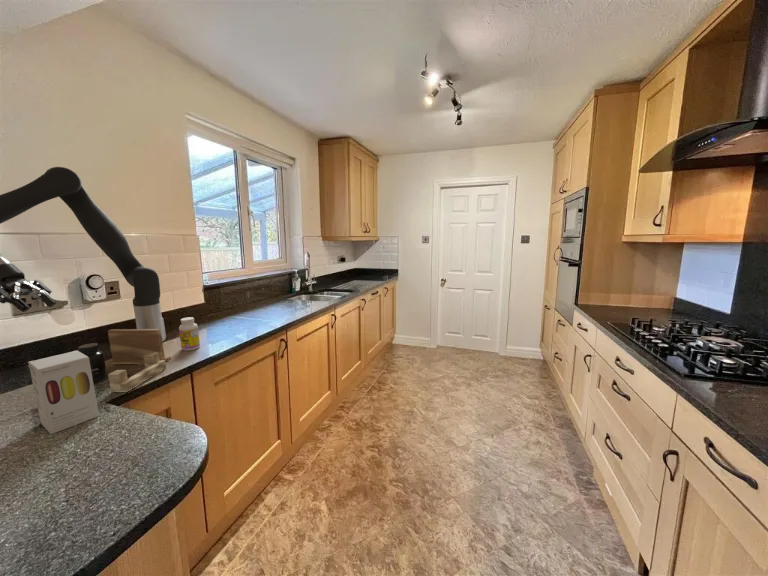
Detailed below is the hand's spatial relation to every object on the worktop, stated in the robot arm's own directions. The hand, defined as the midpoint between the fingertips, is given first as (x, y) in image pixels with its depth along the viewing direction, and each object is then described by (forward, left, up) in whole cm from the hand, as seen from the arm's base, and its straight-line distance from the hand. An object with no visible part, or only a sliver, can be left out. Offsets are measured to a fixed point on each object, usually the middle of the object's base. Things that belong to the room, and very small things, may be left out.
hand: (40, 307), depth 101 cm
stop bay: (+2, +31, -24) cm, 39 cm away
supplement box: (+24, +29, -24) cm, 45 cm away
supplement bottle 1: (+2, +15, -24) cm, 29 cm away
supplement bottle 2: (-26, +30, -24) cm, 47 cm away
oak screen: (-12, +20, -24) cm, 34 cm away
